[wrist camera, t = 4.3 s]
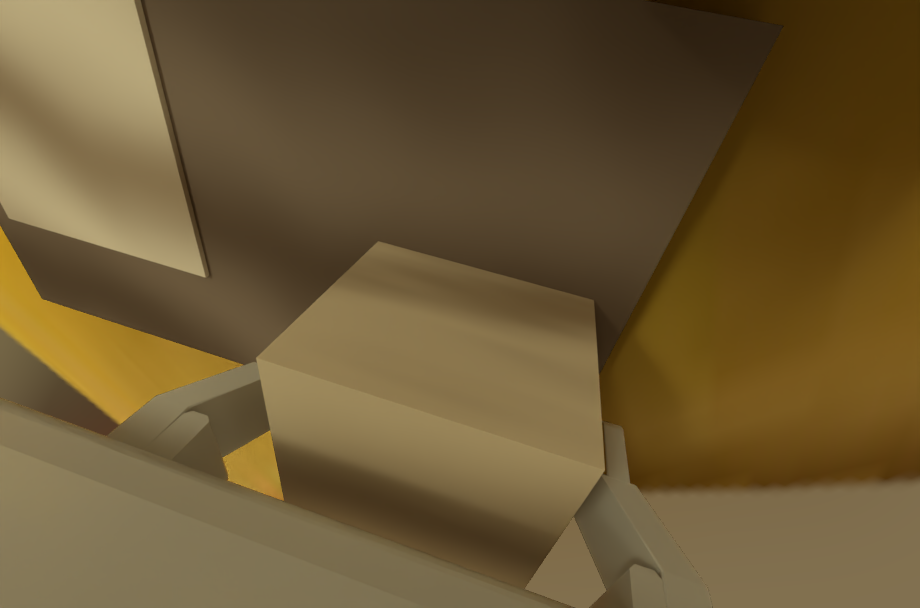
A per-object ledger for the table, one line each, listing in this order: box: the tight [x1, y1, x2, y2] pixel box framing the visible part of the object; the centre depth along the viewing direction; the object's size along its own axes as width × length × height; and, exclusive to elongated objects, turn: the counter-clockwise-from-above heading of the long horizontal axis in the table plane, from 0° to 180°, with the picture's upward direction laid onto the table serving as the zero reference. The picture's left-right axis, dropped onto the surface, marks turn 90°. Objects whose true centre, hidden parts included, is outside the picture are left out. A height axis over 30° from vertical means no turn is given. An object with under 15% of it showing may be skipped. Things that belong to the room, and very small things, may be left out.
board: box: [0, 0, 783, 374], centre depth 12 cm, size 13×22×1 cm, turn 80°
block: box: [256, 241, 605, 589], centre depth 10 cm, size 6×6×5 cm
